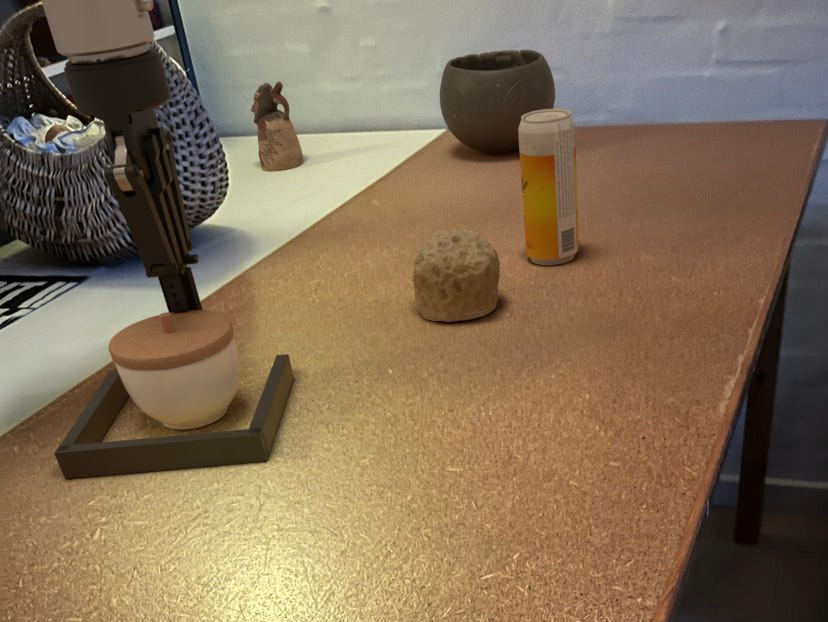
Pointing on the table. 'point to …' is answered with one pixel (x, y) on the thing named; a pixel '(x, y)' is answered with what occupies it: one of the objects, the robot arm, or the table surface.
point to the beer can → (549, 185)
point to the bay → (172, 452)
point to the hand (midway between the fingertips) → (194, 340)
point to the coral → (456, 276)
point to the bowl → (494, 96)
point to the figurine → (275, 130)
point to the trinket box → (179, 366)
